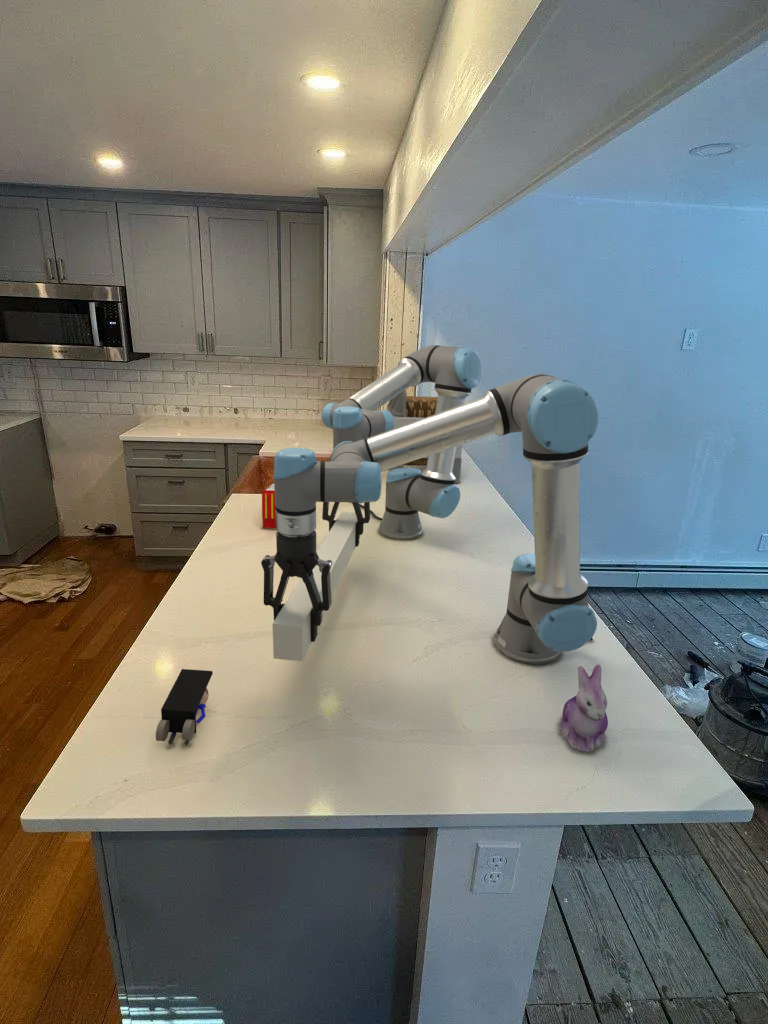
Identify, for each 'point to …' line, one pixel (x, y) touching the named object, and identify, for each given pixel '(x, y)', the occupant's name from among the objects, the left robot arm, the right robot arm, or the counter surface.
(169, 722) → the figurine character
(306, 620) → the bar
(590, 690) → the figurine
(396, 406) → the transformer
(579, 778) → the counter surface
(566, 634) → the right robot arm
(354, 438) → the left robot arm
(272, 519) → the toy
